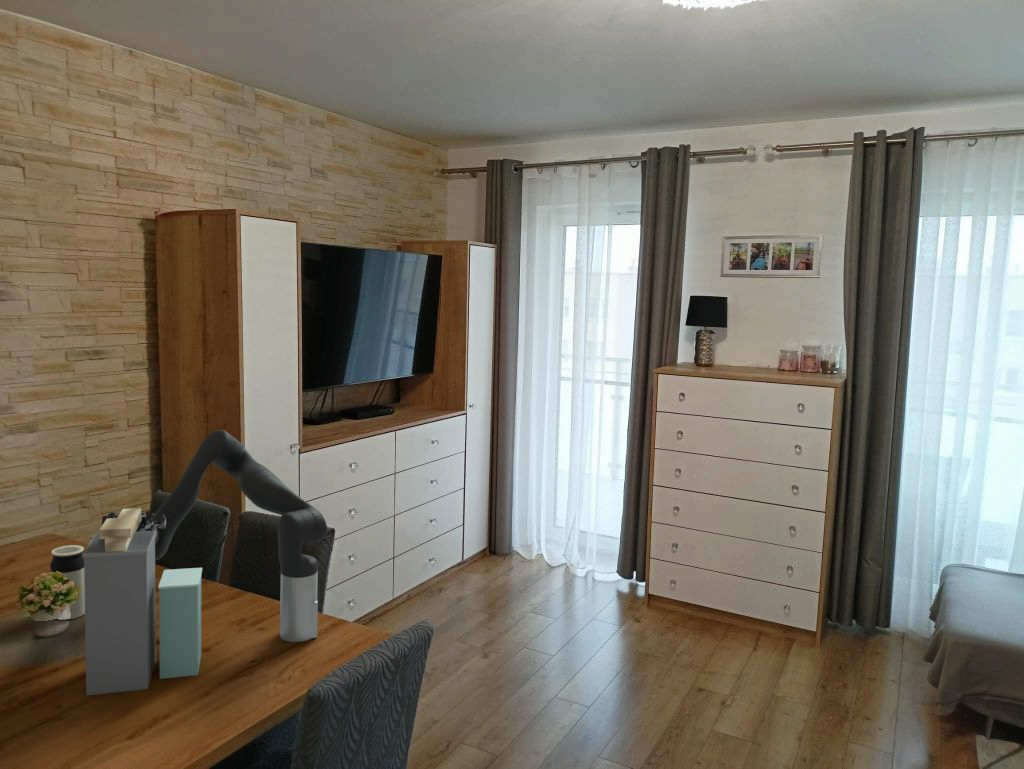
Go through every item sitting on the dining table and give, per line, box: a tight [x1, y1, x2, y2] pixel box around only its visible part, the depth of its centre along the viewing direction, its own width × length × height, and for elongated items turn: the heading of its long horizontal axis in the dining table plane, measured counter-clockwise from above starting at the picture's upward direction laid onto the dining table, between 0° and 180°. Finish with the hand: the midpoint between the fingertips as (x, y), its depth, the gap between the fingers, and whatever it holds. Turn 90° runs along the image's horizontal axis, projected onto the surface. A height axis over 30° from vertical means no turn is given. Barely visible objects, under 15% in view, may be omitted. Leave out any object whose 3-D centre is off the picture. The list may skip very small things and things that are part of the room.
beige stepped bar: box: [98, 507, 142, 552], centre depth 170 cm, size 6×22×5 cm, turn 18°
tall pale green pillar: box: [157, 567, 203, 680], centre depth 175 cm, size 8×10×22 cm
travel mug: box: [49, 544, 85, 620], centre depth 198 cm, size 8×8×18 cm
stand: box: [82, 531, 157, 696], centre depth 168 cm, size 12×13×32 cm
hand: (129, 515), depth 176 cm, fingers open, 7 cm apart
